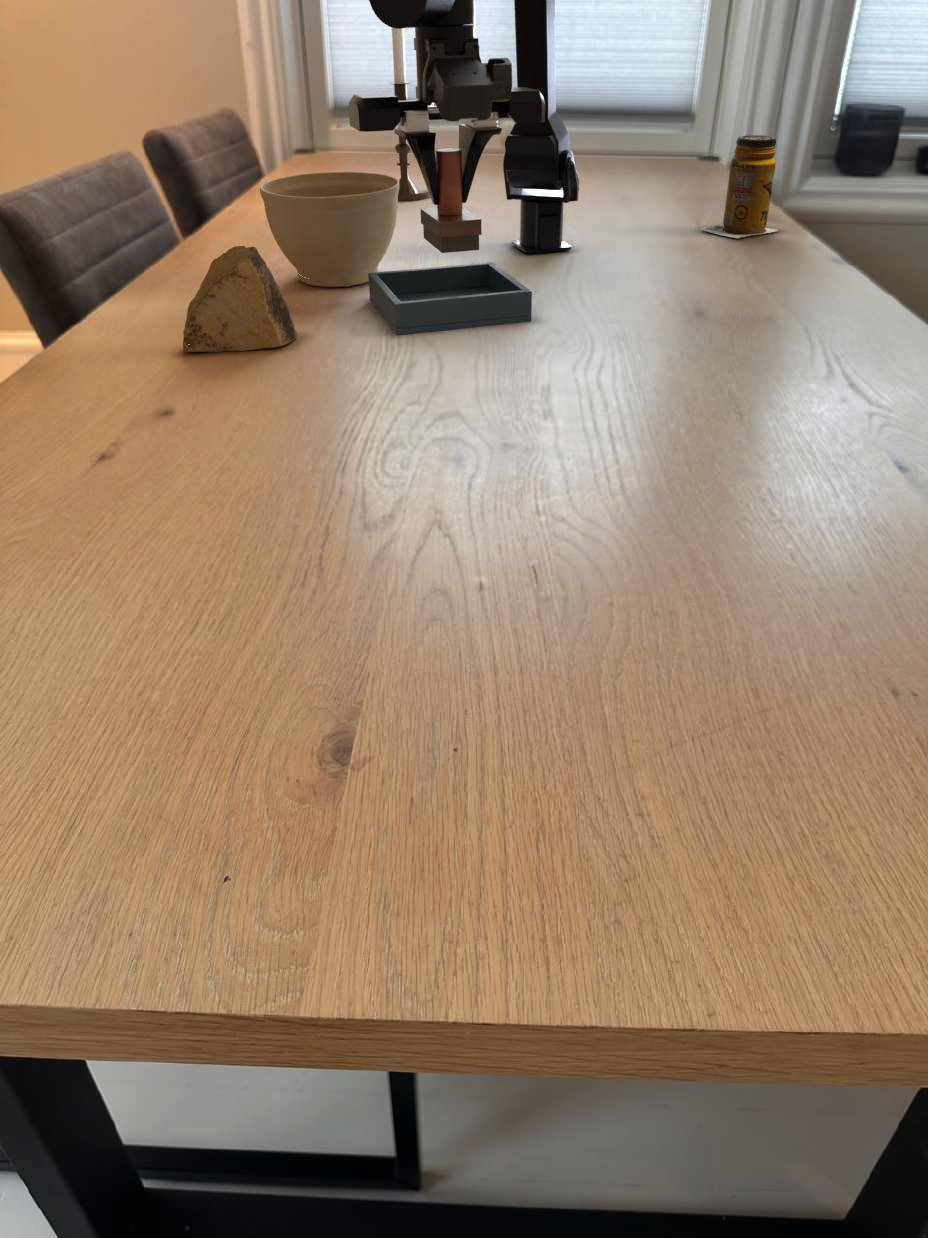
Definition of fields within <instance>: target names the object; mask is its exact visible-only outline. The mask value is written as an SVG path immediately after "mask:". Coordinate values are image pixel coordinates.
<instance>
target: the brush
mask: <svg viewBox="0 0 928 1238" xmlns="http://www.w3.org/2000/svg"><path fill="white" fill-rule="evenodd" d="M435 157H436V166H437V176H438V185H439V204H438V205H436V207H435V206H434V207H424V208H423V207H421V208H419V211H420V224H421V225H423V226H422V227H423V228H422V229H423V239H424V240H425V241H427V242H428V243H429V244H430V245H431V246H433V247H434V248H435V249H436V250H438V251H439V252H440V253H441V254H447V253H448V254H449V253H459V252H461V253H462V252H471V251H479V250H480V236H482V233H483V232H482V218H480V217H478V216H477V215H476V214H474V213H472V212H470V211H468V210H467V209H466V208H464V207H463V203H462V150H461V149H459V148H456V147H443V148H437V149H435Z"/></svg>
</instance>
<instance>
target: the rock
mask: <svg viewBox="0 0 928 1238" xmlns="http://www.w3.org/2000/svg"><path fill="white" fill-rule="evenodd" d="M298 335H299V334H298V331H297V329H296V326H295V322H294V320H293V318H292V316H291V313H290V307H289V305H288V302H287V300H286V299H285V298H284V296H283V294H282V293H281V290H280V288H279V285H278V284H277V282H276V280H275V277H274V275H273V274H272V271H271V269H270V268H269V267H268V266H267V262H266V261H265V260H264V258H263V257H262V256H261V254H260V252H259V251H258V248H257V247H256V246H248V247H246V246H245V245H236V246H232V247H231V248H229V249H227V250H226V251H225V252H223V253H222V254H220V255H219V256H217V258H214V259H213V260H212V261H211V262H210V265H209V268H208V270H207V272H206V275H205V276H204V279H203V280H202V282H201V284H200V287H199V288H198V290H197V292H196V294H195V295H194V297H193V298H192V299H191V301H190V302H189V304H188V307H187V311H186V320H185V323H184V329H183V340H182V351H183V352H184V353H198V352H200V353H201V352H202V353H203V352H204V353H205V352H207V353H222V352H231V351H235V352H236V351H237V352H242V351H243V352H244V351H253V350H263V349H273V348H280V347H283V346H286V345H288V344H290V343H291V342H293V341H295V340H296V339H297V337H298ZM188 344H190V345H188Z"/></svg>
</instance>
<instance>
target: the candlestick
mask: <svg viewBox="0 0 928 1238" xmlns="http://www.w3.org/2000/svg"><path fill="white" fill-rule="evenodd" d="M404 31H405V28H403V29H396V28H392V27H391V38H392V40H391V41H392V59H393V77H394V78H393V81H391V82H388V84H389V85H393V95H394V96H397V97H398V101H407V100H418V98H416V97H408V85H409V84H413V82H412V81H407V78H406V77H407V74H406V53H405V52H406V49H405V32H404ZM428 106H435V103H432V105H428ZM394 150H395V152H396V154H398V161H397V162H396V166H399V173H400V174H399V175H400V177H399V179H398V180H399V192H398V202H399V201H404V202H405V201H417V200H418V201H419V200H424V199H428V198H431V197H430V194H429V192H428V189H427V186H425V185H424V186H422V185H415V184H413V182H412V180H411V178H410V177H409V166H411V165H412V162H411V161H409V154H410V153H411V152H412V150H411V148H410V146H409V144H408V142H407V140H406V139H405V138H403V137H401V136H399V135H398V143H397V144H396V145H395V146H394Z"/></svg>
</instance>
